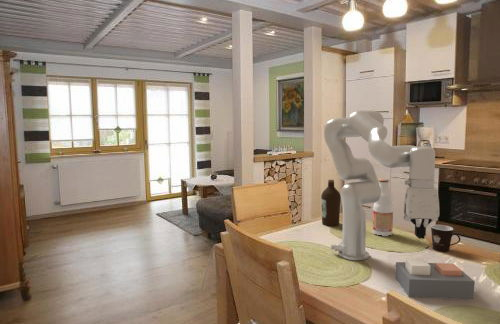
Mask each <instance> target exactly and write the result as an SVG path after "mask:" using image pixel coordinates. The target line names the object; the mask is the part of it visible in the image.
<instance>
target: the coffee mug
mask: <svg viewBox="0 0 500 324" xmlns="http://www.w3.org/2000/svg"><path fill="white" fill-rule="evenodd" d="M430 231H431V240H432V241H431V242H432V244H431V245H432V250H434V251H436V252H440V253H448V252H449V251H450V248H451V247H452V246H454V245H456V244H459V243H460V242H461V236H460V235H459V234H457V233H453V232H454V227H452V226H449V225H444V224H432V225H431V226H430ZM453 236H456V237H457V238H458V241H456V242H454V243H452V238H453Z"/></svg>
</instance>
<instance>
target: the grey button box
mask: <svg viewBox="0 0 500 324" xmlns="http://www.w3.org/2000/svg"><path fill="white" fill-rule="evenodd" d="M405 262H406V261H405ZM405 262H403V261H401V262H400V261H396V262H395V277H394V278H395V280H396V281H397V282H398V284H399V286H400V287H401V288H402V289H403V291H404V292H405V294H406V295H407V297H409V298H428V299H429V298H431V299H457V300H458V299H459V300H474V296H475V295H474V294H475V280H474V279H473V278H471V277H470V276H469V275H468V274H466V273H465V271H464V270H462V269H461V268H459V269H460V270H462V276H442V275H441V274H440V273H439V272H438V271H437V270H436V269H435V263H436V262H427V263H428V264H429V265H430V275H410V273H409V272H408V271H407V270H406V268H405Z"/></svg>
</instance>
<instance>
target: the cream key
mask: <svg viewBox="0 0 500 324" xmlns="http://www.w3.org/2000/svg"><path fill="white" fill-rule="evenodd" d="M428 263H429V262H427V260H425V259H424V258H405V268H406V270H407V271H408V272H409V273H410V275H430V265H429V264H428Z"/></svg>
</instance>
